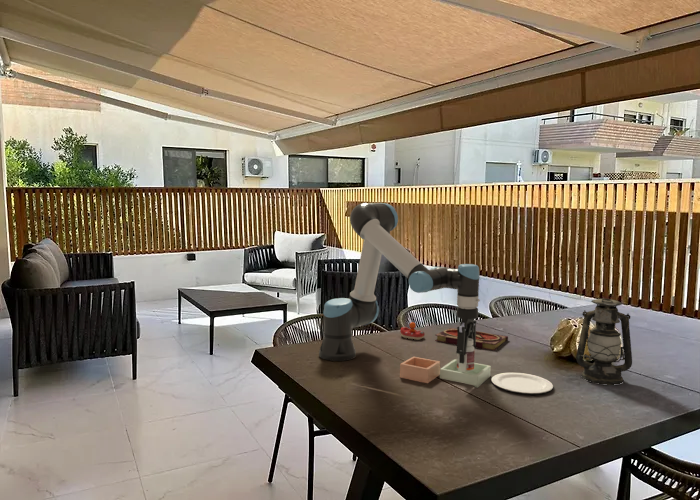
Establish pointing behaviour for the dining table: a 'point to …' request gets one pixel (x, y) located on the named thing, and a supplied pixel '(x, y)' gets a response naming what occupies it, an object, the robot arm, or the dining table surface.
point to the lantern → (604, 343)
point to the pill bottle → (468, 356)
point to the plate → (522, 383)
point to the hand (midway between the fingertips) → (465, 368)
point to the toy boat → (411, 332)
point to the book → (482, 339)
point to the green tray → (466, 374)
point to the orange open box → (420, 369)
